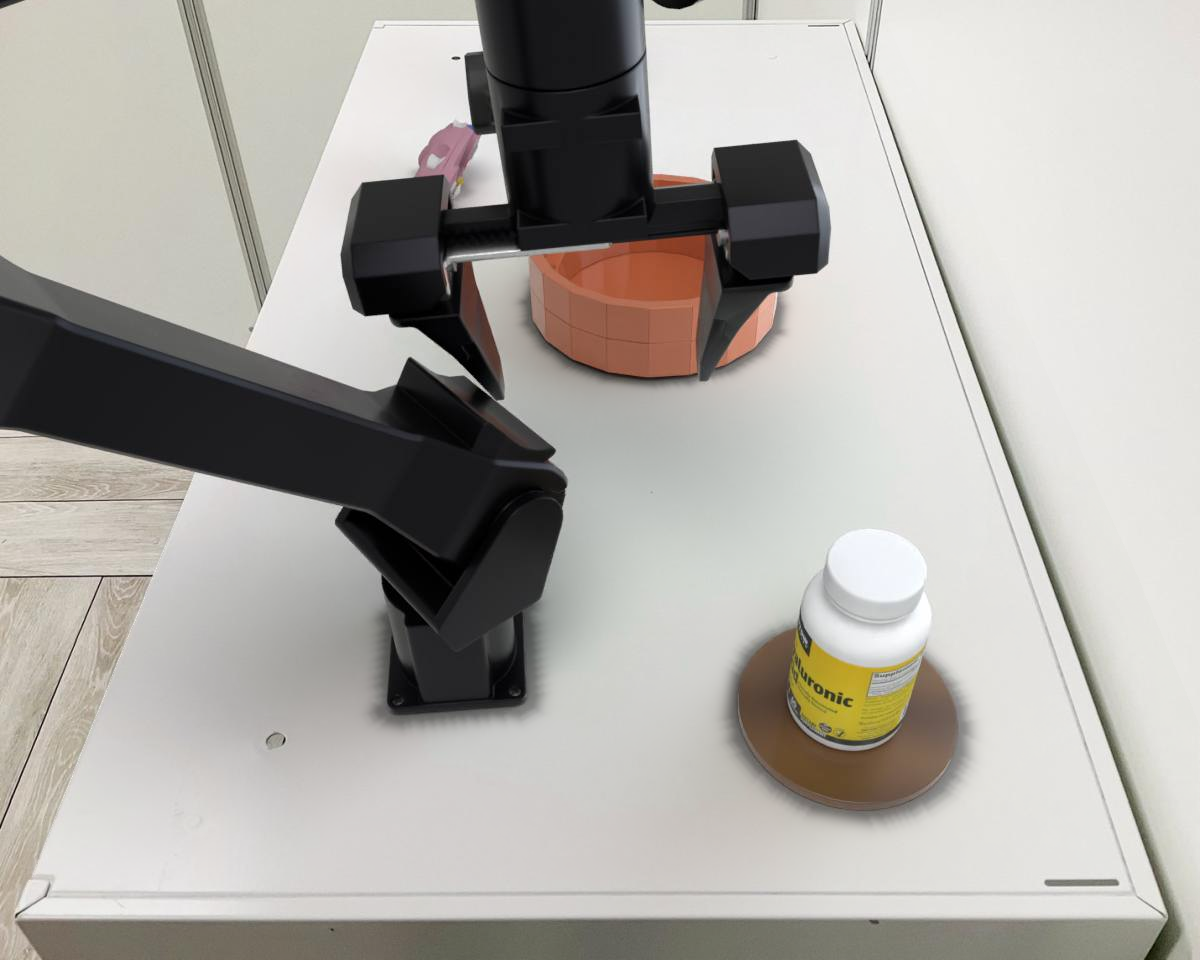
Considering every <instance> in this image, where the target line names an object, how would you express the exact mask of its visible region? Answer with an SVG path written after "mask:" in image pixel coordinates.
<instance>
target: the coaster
mask: <svg viewBox="0 0 1200 960" xmlns="http://www.w3.org/2000/svg"><path fill="white" fill-rule="evenodd" d="M796 631H797V627H794V628H792V629H789V630H785V631H784V632H782V633H780V634H778V635H776V636H774V637H773V638H771V639H770V640H768V641H766V643H765V644H764V645H763V646H761V647H760V648H759V649H758V650H757V651H756V652H755V654H754V655H753V656H752V657H751V659H750V660H749V661H748V662H747V665H746V667H745V669H744V670H743V673H742V676H741V679H740V683H739V688H738V694H737V716H738V717H737V718H738V723H739V726H740V730H741V734H742V736H743V738H744V740H745V742H746V745H747V746H748V748H749V750H750V751H751V753H752V755H753V756H754V757H755V759H756V760H757V761H758V762H759V764H760V765H761V766H762V767H763V768H764V769H765V770H766V772H768V773H769V774H770V775H771V776H772V777H773V778H774V779H775V780H777V781H778V782H780V783H781V784H782V785H784V786H785V787H786V788H788V789H790V791H793V792H794V793H796V794H798V795H800V796H802V797H804V798H806V799H808V800H810V801H813V802H816V803H819V804H823V805H825V806H828V807H834V808H838V809H843V810H844V809H845V810H853V811H875V810H881V809H889V808H892V807H895V806H896V807H897V806H899V805H902V804H904V803H907V802H909V801H911V800H913V799H914V800H915V799H916V798H917V797H919V796H921V795H923V794H924V793H926V792H927V791H928V790H929V789H931V788H932V787H933V786H934V785H935V784H936V783H937V782H938V781H939V780H940V778H941V777H942V776H943V775H944V773H945V772H946V770H947V768H948V766H949V765H950V763H951V761H952V757H953V755H954V752H955V749H956V747H957V741H958V738H959V737H958V736H959V718H958V712H957V707H956V704H955V701H954V698H953V695H952V694H951V691H950V689H949V686H948V685H947V683H946V682H945V680H944V679H943V677H942V676H941V674H940V673H939V672H938V671H937V669H936V668H935V667H934V666H933V665H932V664H931V662H929V661H928V660H927V659H926V658H925V657H924V656H923V657H922V660H921V664H920V667H919V670H918V673H917V676H916V680H915V683H914V687H913V690H912V693H911V697H910V700H909V703H908V707H907V710H906V713H905V716H904V719H903V721H902V724H901V725H900V727H899V729H898V730H897V732H896V733H895V734H894V735H893V736H892V737H891V738H890V739H889V740H887V741H886V742H884V743H883V744H881V745H879V746H877V747H874V748H871V749H867V750H860V751H845V750H839V749H835V748H831V747H829V746H826V745H824V744H822V743H820V742H818V741H816V740H815V739H813V738H812V737H810V736H809V735H808V734H807V733H806V732H804V731H803V730H802V728H801V727H800V726H799V725H798V724H797V722H796V721H795V719H794V718H793V716H792V714H791V711H790V709H789V706H788V701H787V685H788V678H789V671H790V666H791V660H792V654H793V648H794V642H795V637H796Z"/></svg>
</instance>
